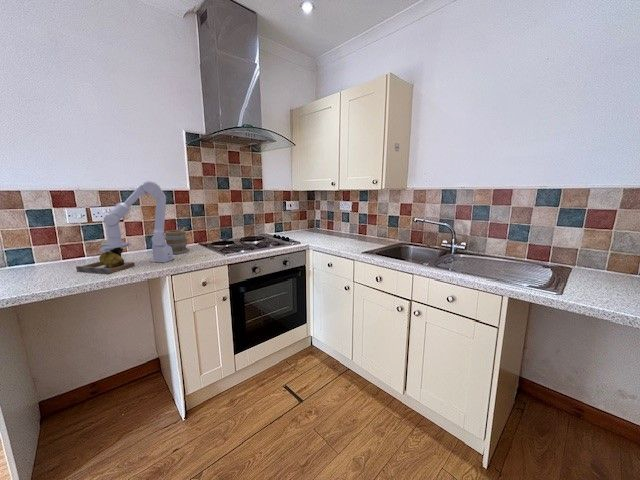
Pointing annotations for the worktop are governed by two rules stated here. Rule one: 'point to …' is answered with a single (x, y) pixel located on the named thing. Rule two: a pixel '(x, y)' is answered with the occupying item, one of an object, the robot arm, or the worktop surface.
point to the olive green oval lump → (111, 260)
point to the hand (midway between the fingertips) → (118, 261)
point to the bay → (95, 269)
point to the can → (104, 245)
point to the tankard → (177, 241)
